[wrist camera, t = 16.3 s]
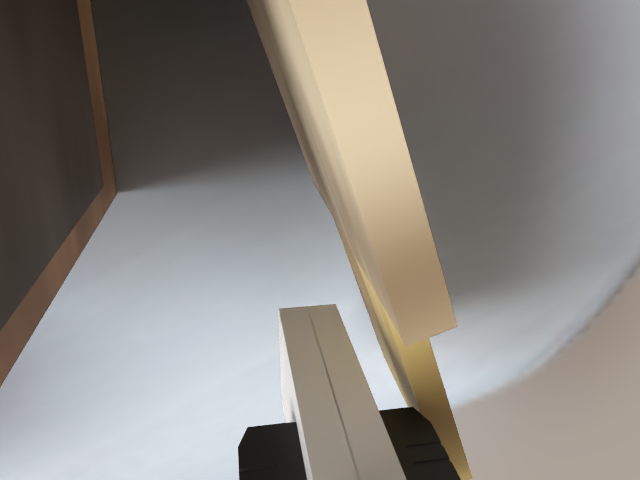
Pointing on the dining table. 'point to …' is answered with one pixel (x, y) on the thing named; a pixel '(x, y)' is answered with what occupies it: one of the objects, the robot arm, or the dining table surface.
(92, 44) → the case
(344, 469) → the robot arm
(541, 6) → the dining table surface
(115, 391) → the dining table surface
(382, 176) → the door
